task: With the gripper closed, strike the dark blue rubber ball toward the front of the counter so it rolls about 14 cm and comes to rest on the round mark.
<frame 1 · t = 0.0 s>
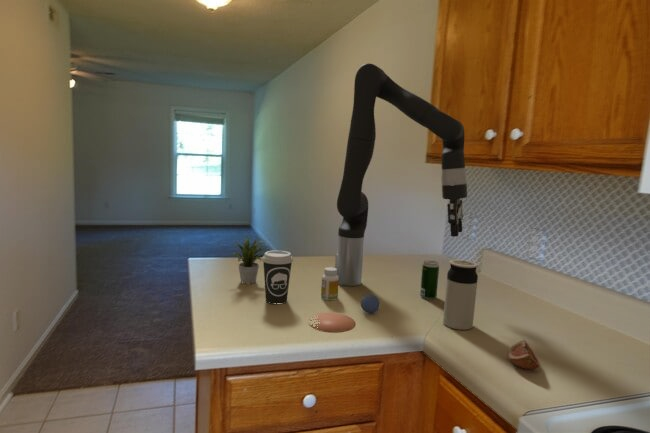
hand: (456, 234, 134), 22 cm above the worktop, tool pointing down, fingers open, 8 cm apart
coffee cup: (276, 301, 130), on the worktop
fruit slice: (522, 367, 96), on the worktop
beer can: (428, 297, 141), on the worktop
travel mug: (457, 325, 118), on the worktop
supplement bottle: (329, 298, 135), on the worktop
house plant: (248, 283, 146), on the worktop
ball: (370, 303, 124), on the worktop
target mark: (331, 322, 116), on the worktop
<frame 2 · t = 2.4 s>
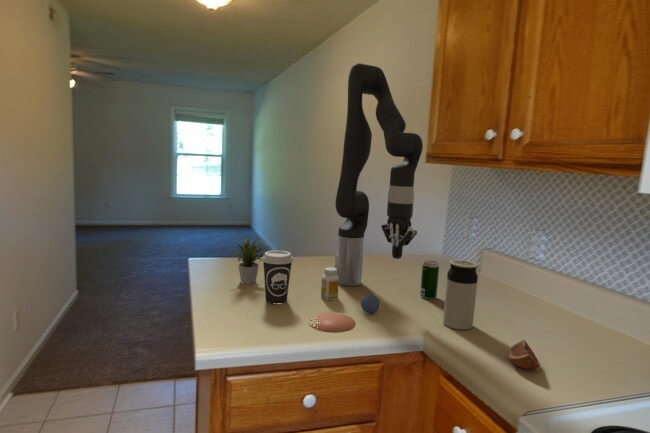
hand: (396, 257, 127), 16 cm above the worktop, tool pointing down, fingers closed
nothing on the worktop moved.
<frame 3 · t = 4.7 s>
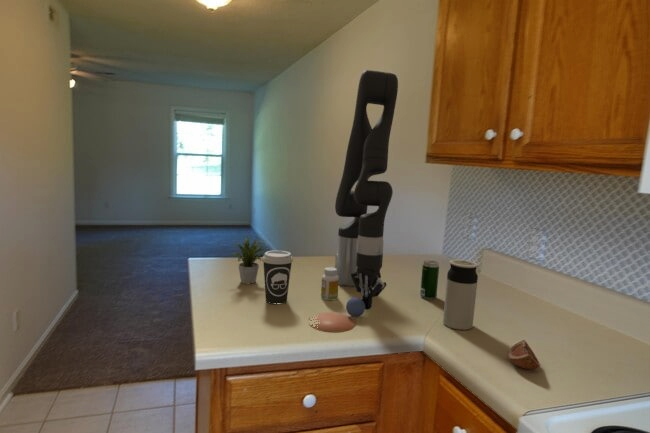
hand: (366, 308, 123), 2 cm above the worktop, tool pointing down, fingers closed
ball: (355, 307, 120), on the worktop
everything else where it was.
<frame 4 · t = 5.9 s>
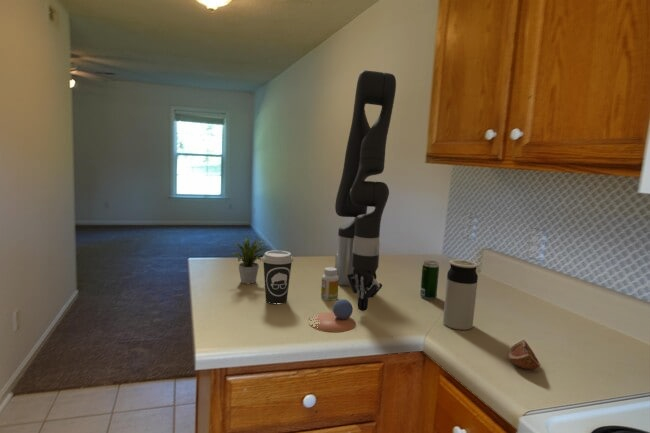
hand: (362, 309, 122), 2 cm above the worktop, tool pointing down, fingers closed
ball: (342, 309, 118), on the worktop
everything else where it was.
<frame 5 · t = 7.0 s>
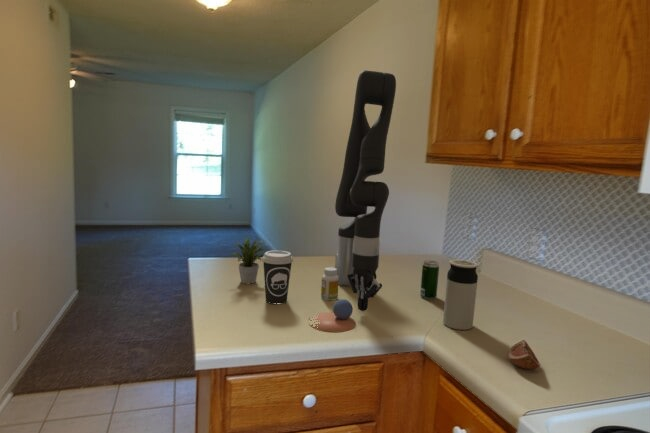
hand: (362, 309, 122), 2 cm above the worktop, tool pointing down, fingers closed
nothing on the worktop moved.
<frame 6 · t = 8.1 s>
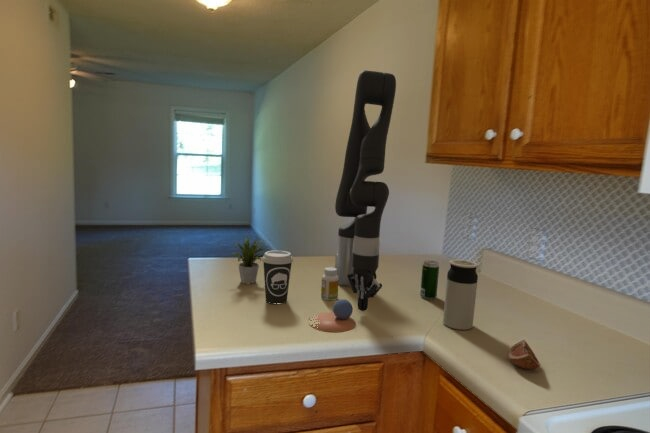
hand: (362, 309, 122), 2 cm above the worktop, tool pointing down, fingers closed
nothing on the worktop moved.
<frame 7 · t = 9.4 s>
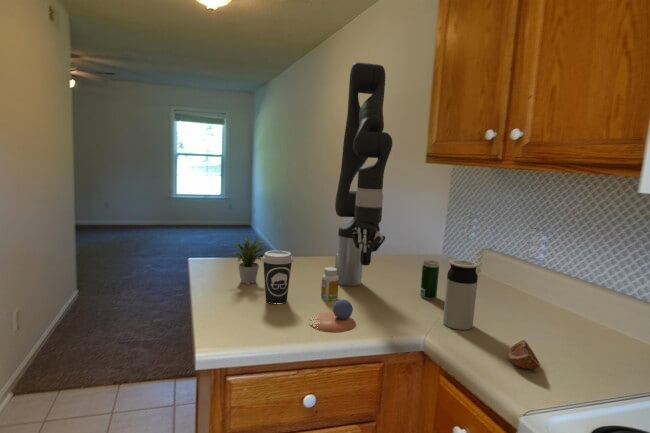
hand: (365, 264, 120), 15 cm above the worktop, tool pointing down, fingers closed
nothing on the worktop moved.
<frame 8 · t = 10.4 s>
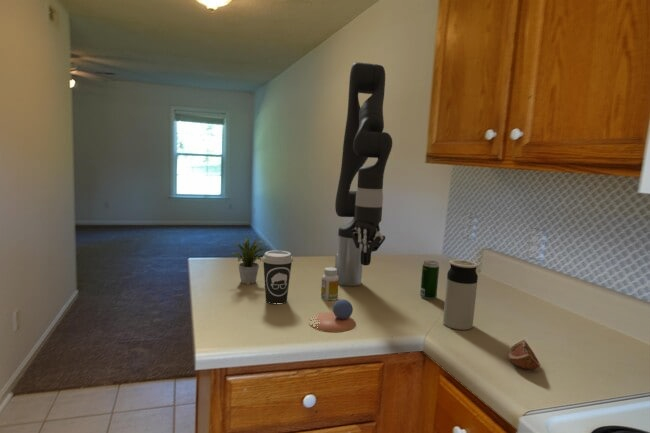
hand: (365, 264, 120), 15 cm above the worktop, tool pointing down, fingers closed
nothing on the worktop moved.
at the end: ball 4.2 cm from the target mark (horizontally); ball at rest at the end (0.0 cm/s); ball moved 9.9 cm from its start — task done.
